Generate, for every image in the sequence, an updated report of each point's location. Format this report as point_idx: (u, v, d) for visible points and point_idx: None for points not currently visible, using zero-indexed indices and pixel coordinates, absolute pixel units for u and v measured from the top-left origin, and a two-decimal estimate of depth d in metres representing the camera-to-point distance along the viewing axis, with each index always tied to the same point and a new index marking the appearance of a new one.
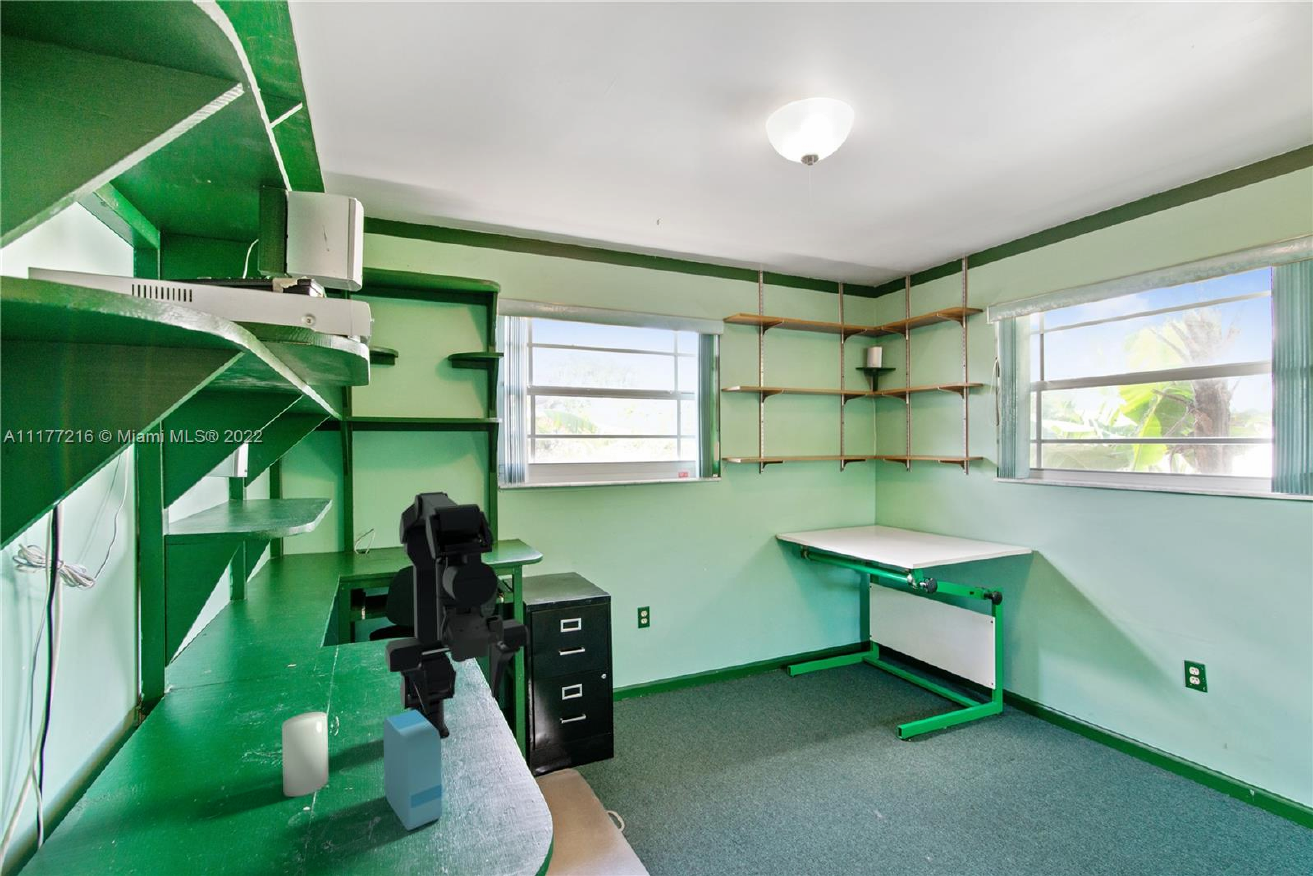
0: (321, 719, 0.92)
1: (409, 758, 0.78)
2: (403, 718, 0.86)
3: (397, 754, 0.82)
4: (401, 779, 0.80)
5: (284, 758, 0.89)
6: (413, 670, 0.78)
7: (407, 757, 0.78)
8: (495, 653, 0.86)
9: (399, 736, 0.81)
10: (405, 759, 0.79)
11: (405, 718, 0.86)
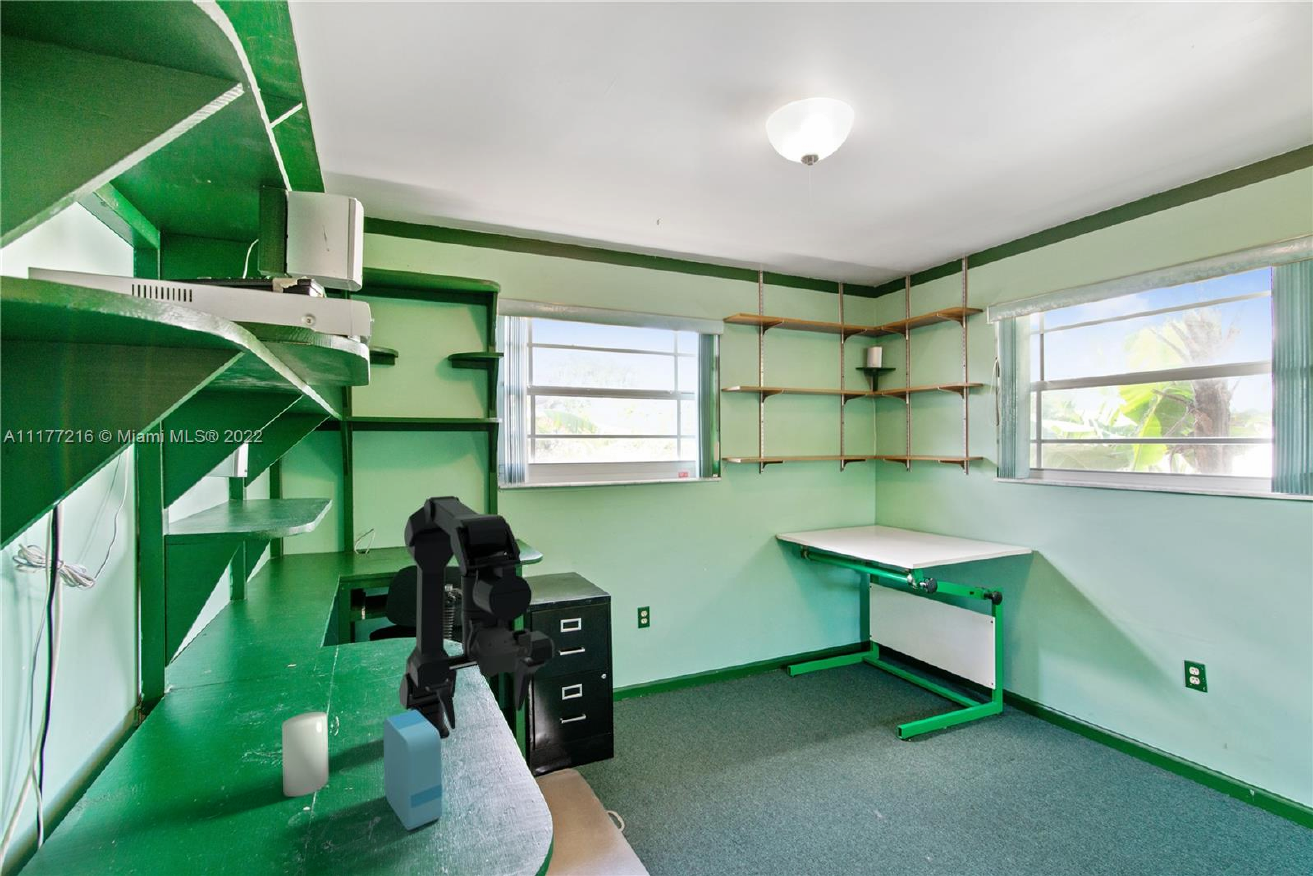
0: (321, 719, 0.92)
1: (409, 758, 0.78)
2: (403, 718, 0.86)
3: (397, 754, 0.82)
4: (401, 779, 0.80)
5: (284, 758, 0.89)
6: (440, 685, 0.77)
7: (406, 757, 0.78)
8: (520, 666, 0.85)
9: (399, 736, 0.81)
10: (405, 759, 0.79)
11: (405, 718, 0.86)
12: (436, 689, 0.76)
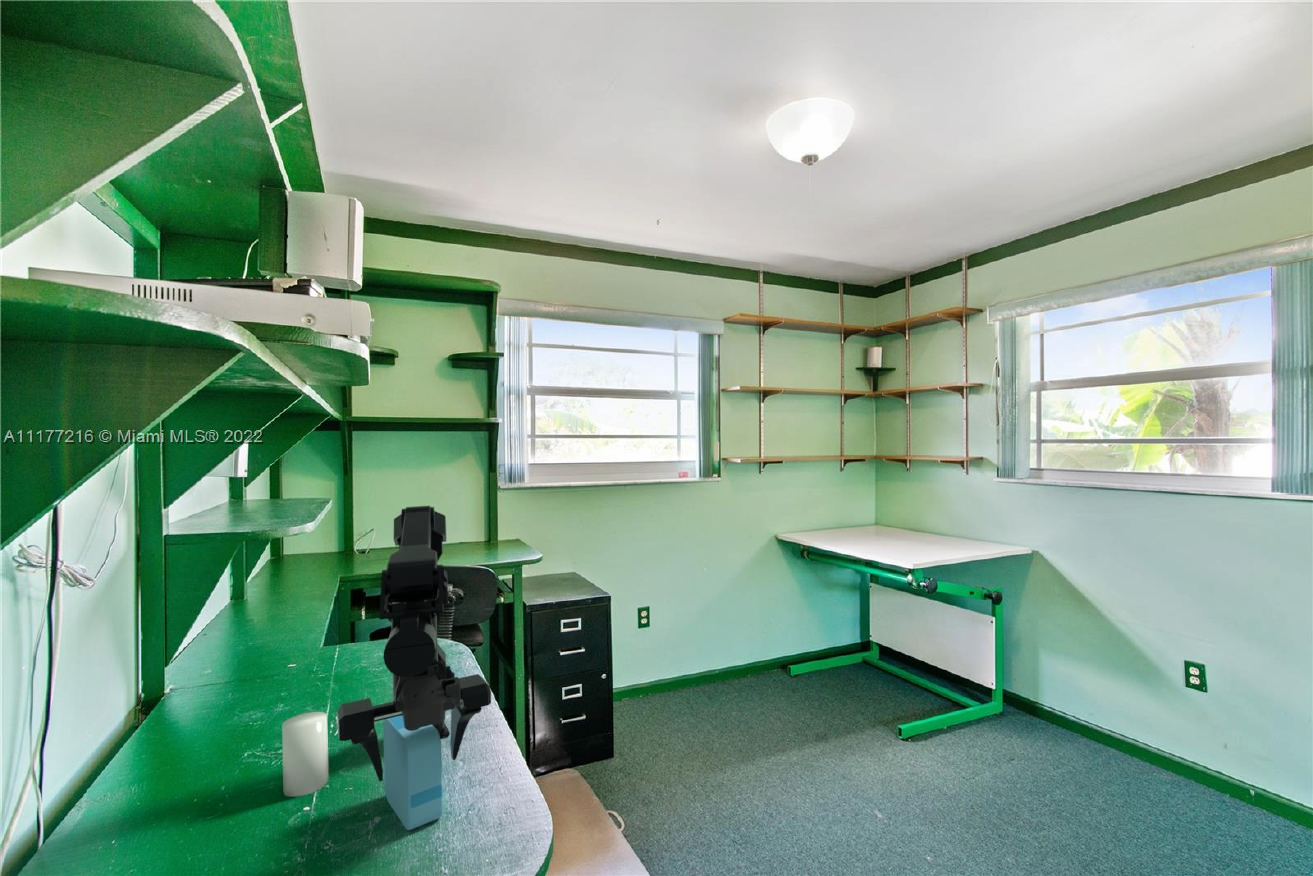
0: (321, 719, 0.92)
1: (409, 758, 0.78)
2: None
3: (397, 754, 0.82)
4: (401, 779, 0.80)
5: (284, 758, 0.89)
6: (364, 737, 0.74)
7: (407, 757, 0.78)
8: (455, 713, 0.82)
9: (399, 736, 0.81)
10: (405, 759, 0.79)
11: None
12: (359, 742, 0.74)
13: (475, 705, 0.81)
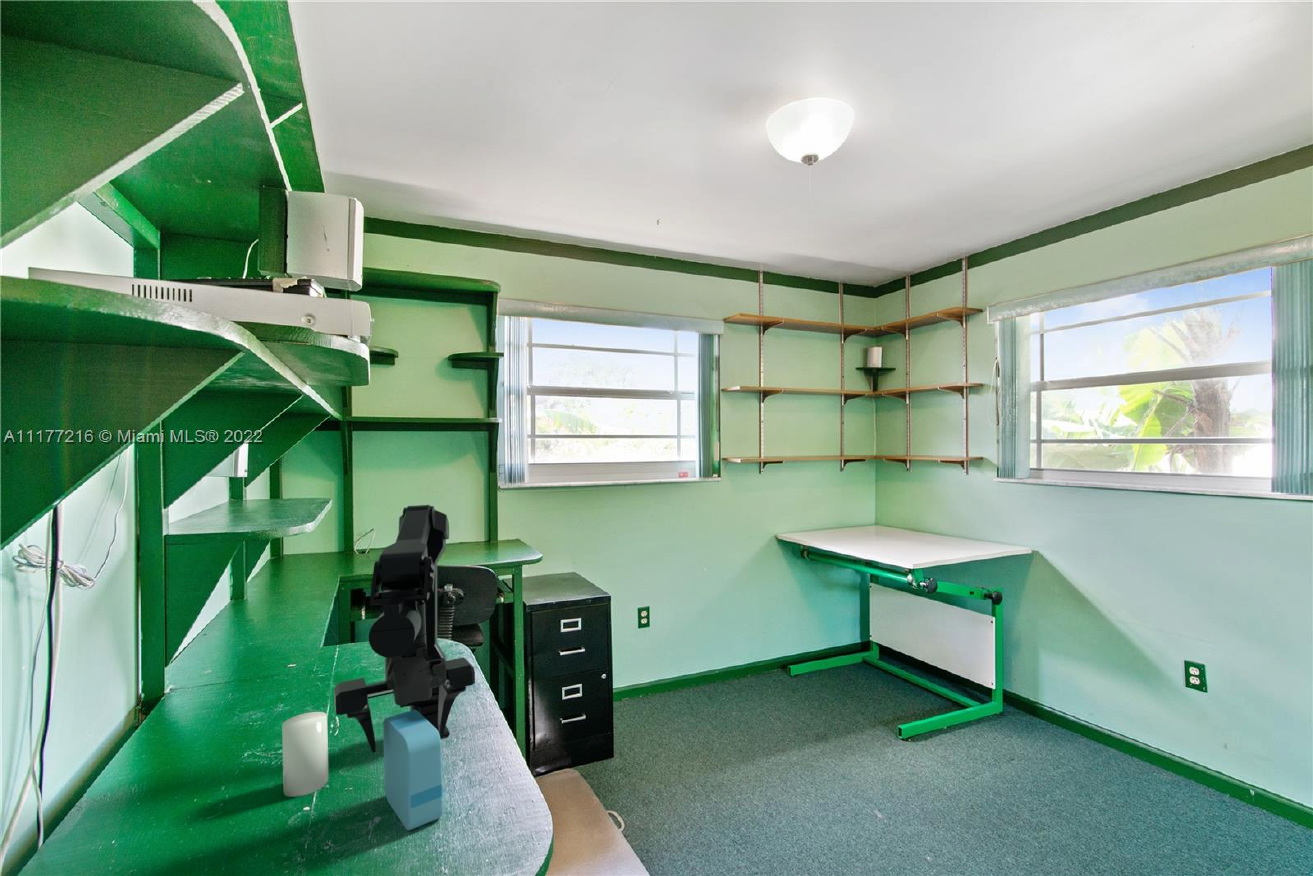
0: (321, 719, 0.92)
1: (409, 758, 0.78)
2: (403, 718, 0.86)
3: (397, 754, 0.82)
4: (401, 779, 0.80)
5: (284, 758, 0.89)
6: (359, 712, 0.82)
7: (406, 757, 0.78)
8: (442, 692, 0.90)
9: (399, 736, 0.81)
10: (405, 759, 0.79)
11: (405, 718, 0.86)
12: (354, 716, 0.81)
13: (460, 684, 0.88)
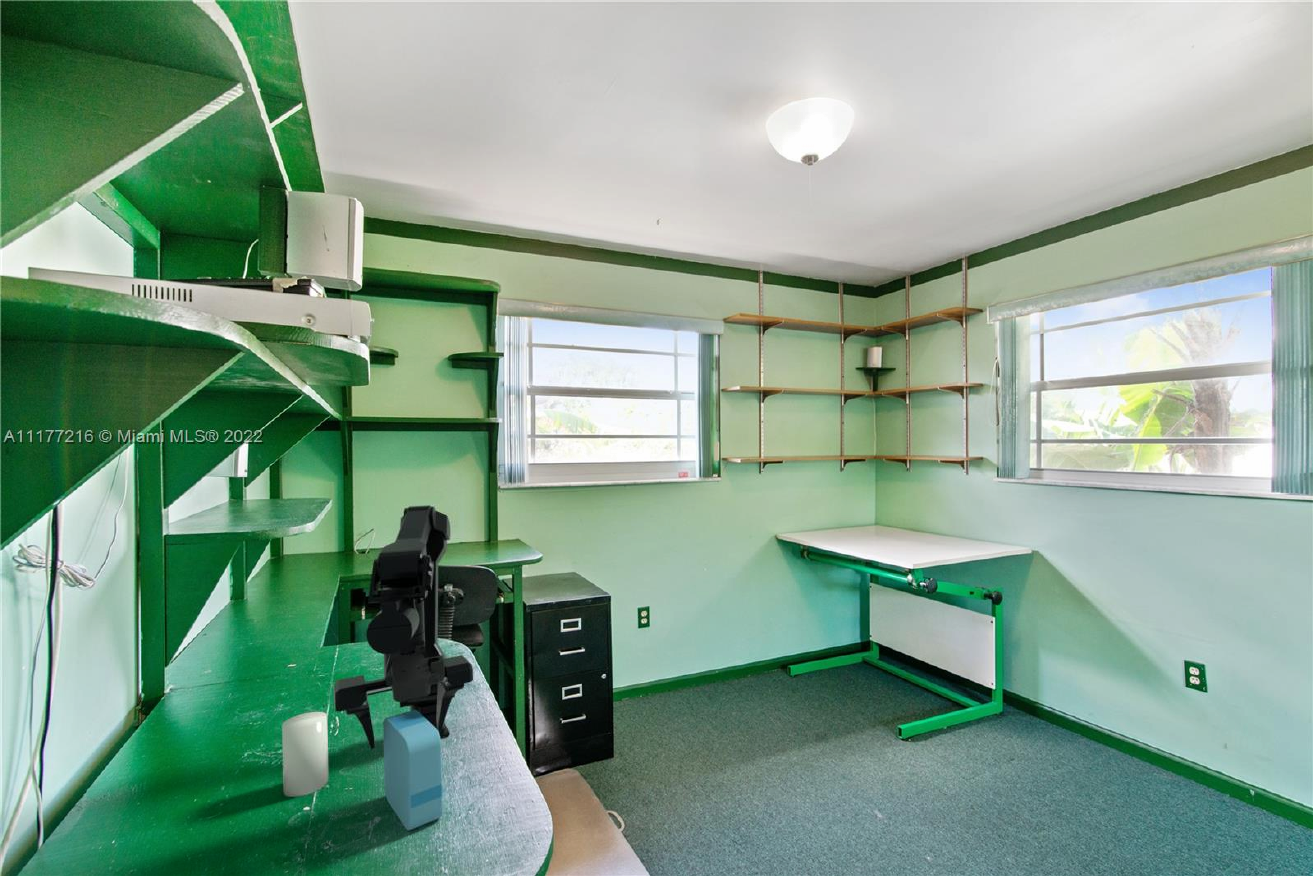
0: (321, 719, 0.92)
1: (409, 758, 0.78)
2: (403, 718, 0.86)
3: (397, 754, 0.82)
4: (401, 779, 0.80)
5: (284, 758, 0.89)
6: (358, 709, 0.83)
7: (407, 757, 0.78)
8: (441, 689, 0.91)
9: (399, 736, 0.81)
10: (405, 759, 0.79)
11: (405, 718, 0.86)
12: (353, 712, 0.82)
13: (458, 682, 0.89)
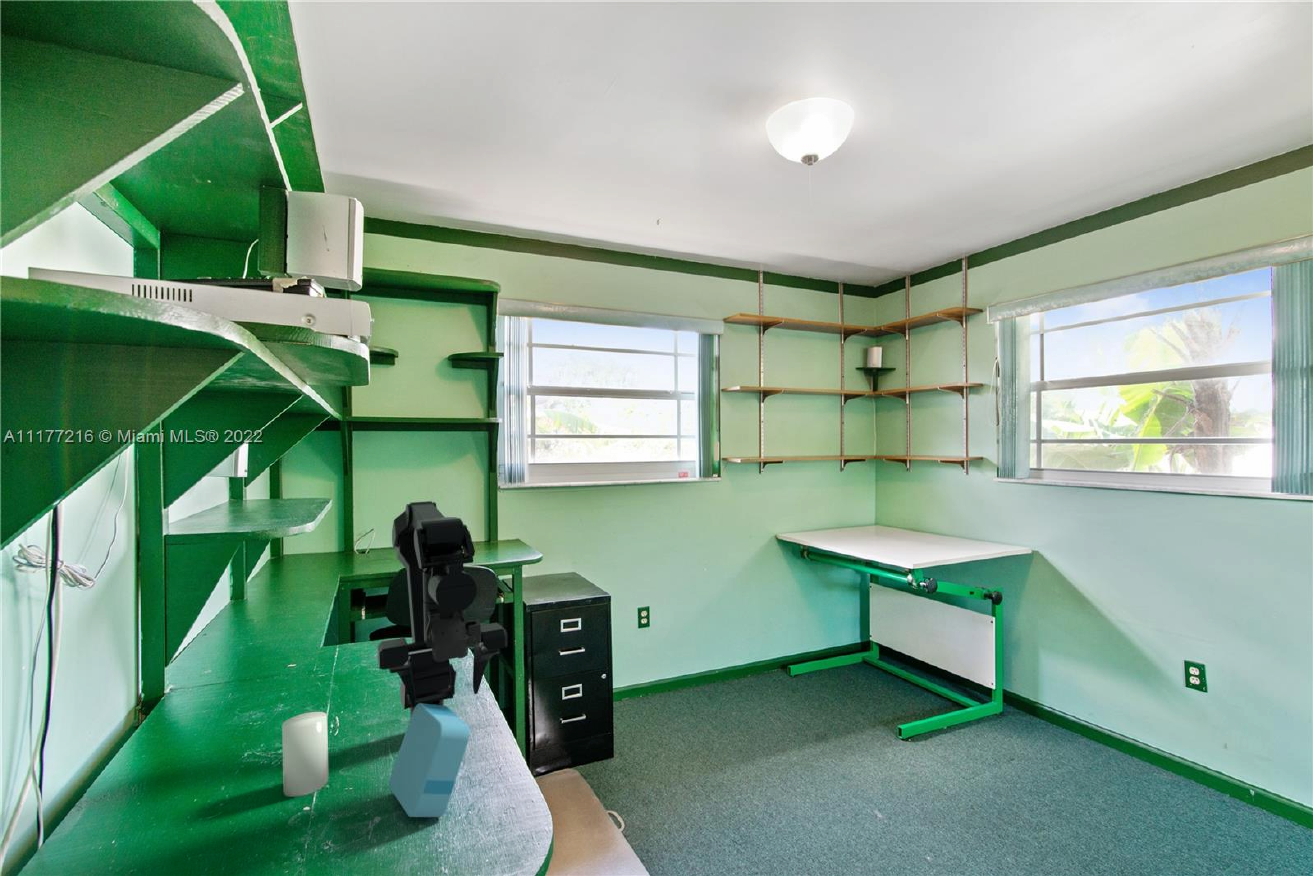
0: (321, 719, 0.92)
1: (439, 742, 0.81)
2: (436, 708, 0.89)
3: (424, 737, 0.84)
4: (420, 763, 0.82)
5: (284, 758, 0.89)
6: (400, 668, 0.87)
7: (437, 739, 0.81)
8: (477, 654, 0.95)
9: (434, 719, 0.84)
10: (434, 742, 0.81)
11: (438, 708, 0.89)
12: (396, 671, 0.87)
13: (494, 646, 0.93)
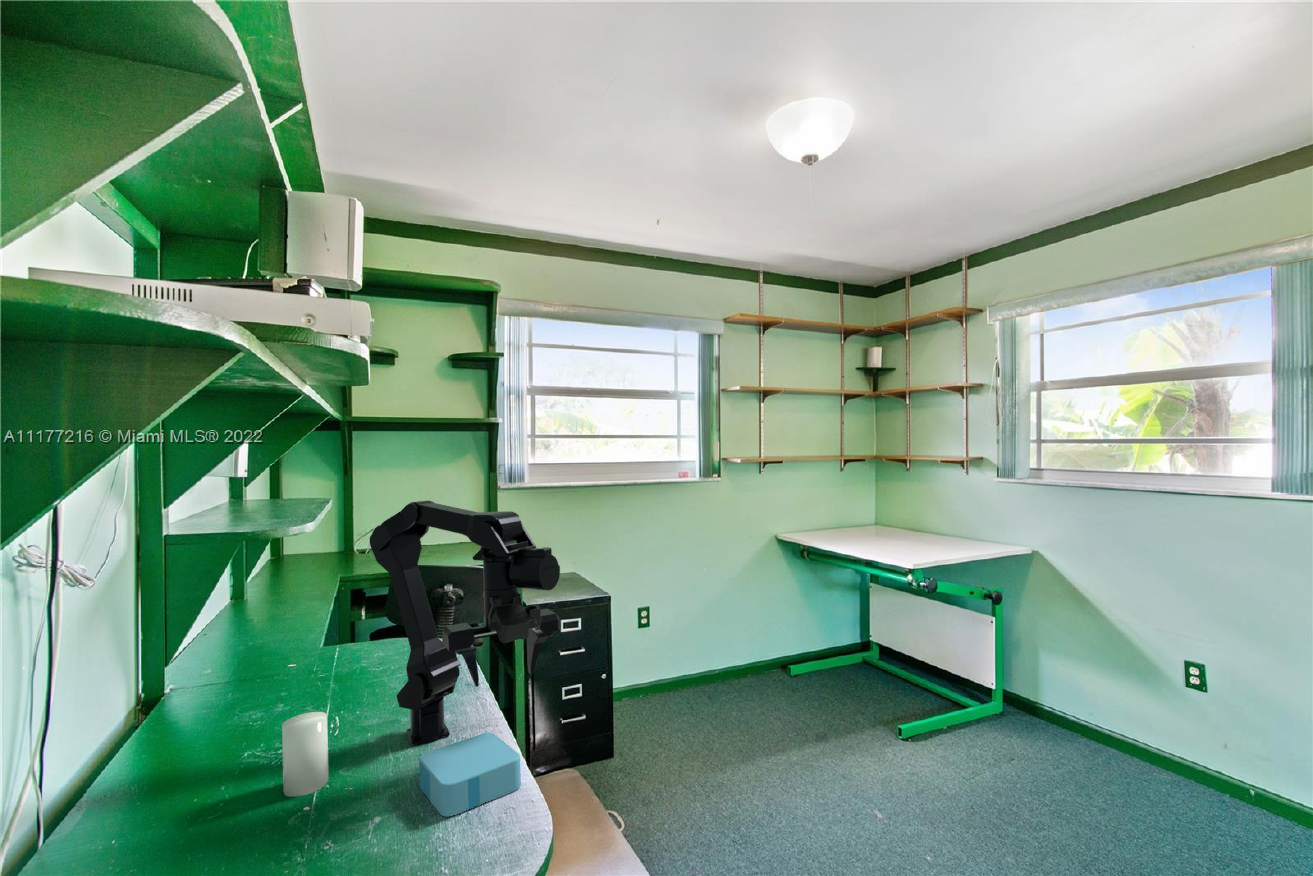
0: (321, 719, 0.92)
1: (510, 763, 0.87)
2: None
3: (491, 752, 0.90)
4: (478, 763, 0.87)
5: (284, 758, 0.89)
6: (467, 649, 0.94)
7: (511, 760, 0.87)
8: (531, 637, 1.03)
9: (512, 749, 0.91)
10: (505, 760, 0.88)
11: None
12: (463, 652, 0.94)
13: (548, 630, 1.01)
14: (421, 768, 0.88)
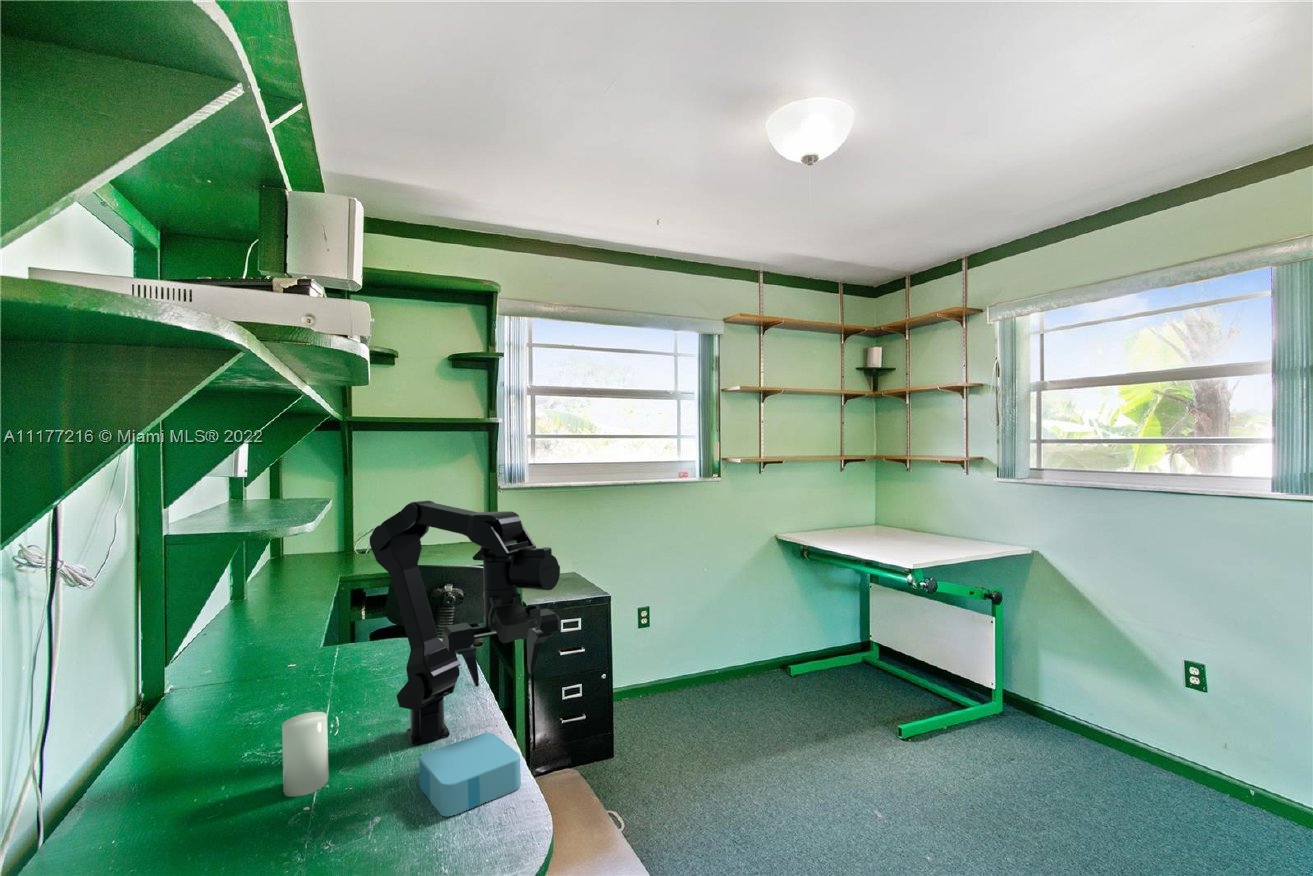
0: (321, 719, 0.92)
1: (510, 763, 0.87)
2: None
3: (491, 752, 0.90)
4: (478, 763, 0.87)
5: (284, 758, 0.89)
6: (467, 649, 0.94)
7: (511, 760, 0.87)
8: (531, 637, 1.03)
9: (512, 749, 0.91)
10: (505, 760, 0.88)
11: None
12: (463, 652, 0.94)
13: (548, 630, 1.01)
14: (421, 768, 0.88)
